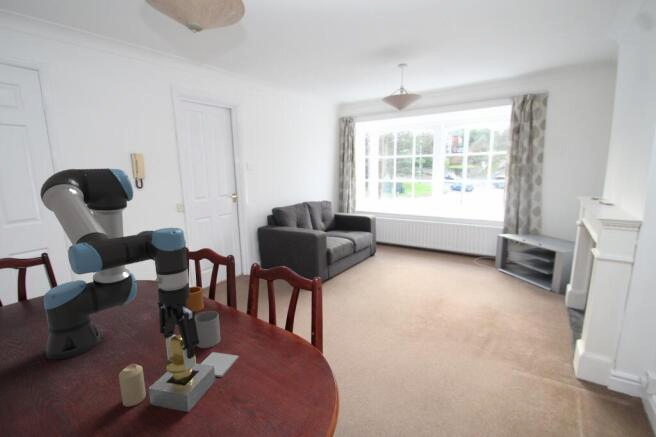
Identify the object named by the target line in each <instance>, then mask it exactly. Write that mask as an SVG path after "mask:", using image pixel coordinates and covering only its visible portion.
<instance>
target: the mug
mask: <svg viewBox="0 0 656 437" xmlns="http://www.w3.org/2000/svg"><path fill="white" fill-rule="evenodd" d="M189 290H190V296H189V298H188V299H187V300H186V304H187V307H188V309H189V310H194V311H195V313H198V312H200V311H201V310H203V309H204V308H205V305H204V304H205V303H204V292H203V291H204V290H203V287H201V286H191V287H190V286H189Z"/></svg>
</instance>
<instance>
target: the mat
mask: <svg viewBox="0 0 656 437" xmlns="http://www.w3.org/2000/svg"><path fill="white" fill-rule="evenodd" d="M238 359H239V355H234V354H228V353H221V352H215V351H212V352H211V353H210V354H209V355H208V356H207V357H206V358H205V359H204V360H203V361H202V362H200V364H203V365H210V366H214V371H215V377H219V378H223V377H224V375H225V374H226V373H227V372H228V371H229V370H230V369H231V367H232V366H233V365H234V364H235V362H236V361H237V360H238Z"/></svg>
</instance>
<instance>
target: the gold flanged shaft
mask: <svg viewBox="0 0 656 437" xmlns="http://www.w3.org/2000/svg"><path fill="white" fill-rule="evenodd" d="M171 346H172V356H173V357H171V358H170V359H169V360H168V359H167V361H166V362H165V368H166V372H167V371H168V372H169V373H172V375H173V383H174V384H177V385H183V386H185V385H186V384H187V383H188V382H189V381H190V380H191V379H192V378H193V375H192V367H191V368H190V369H188V370H187V371H186V370H185V368H184V358H183V349H182V348H183V347H184V344H183V340H182V337H181V334H178V335H177V334H176V336H174V337H173V338H172V339H171ZM196 362H197V357H196V355H195V363H196Z"/></svg>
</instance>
